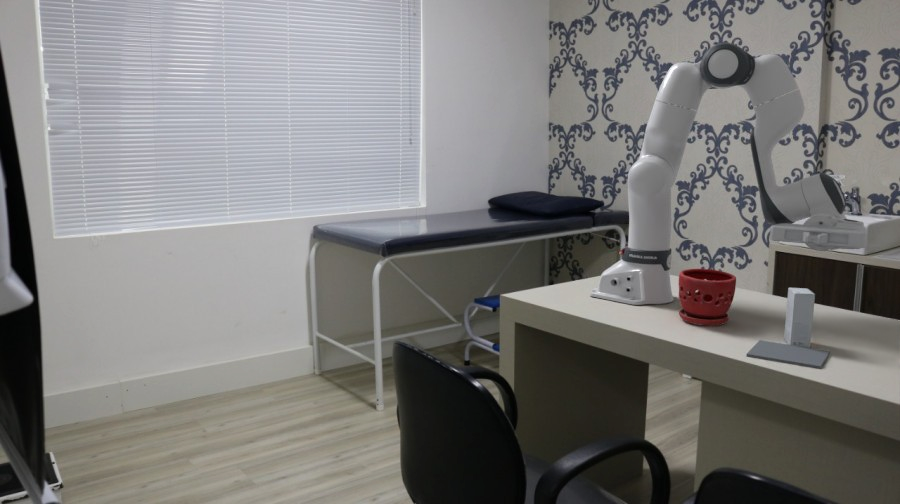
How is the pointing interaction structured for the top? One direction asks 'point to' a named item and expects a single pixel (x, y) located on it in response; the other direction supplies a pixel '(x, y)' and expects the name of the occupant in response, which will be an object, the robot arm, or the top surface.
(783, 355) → the slate mat
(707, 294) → the plant pot
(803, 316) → the skincare box
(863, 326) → the top surface
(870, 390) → the top surface
